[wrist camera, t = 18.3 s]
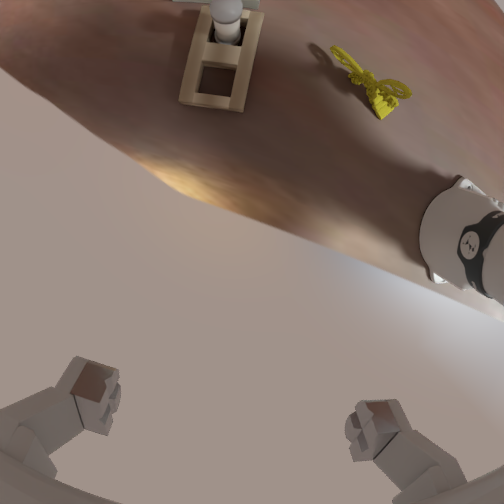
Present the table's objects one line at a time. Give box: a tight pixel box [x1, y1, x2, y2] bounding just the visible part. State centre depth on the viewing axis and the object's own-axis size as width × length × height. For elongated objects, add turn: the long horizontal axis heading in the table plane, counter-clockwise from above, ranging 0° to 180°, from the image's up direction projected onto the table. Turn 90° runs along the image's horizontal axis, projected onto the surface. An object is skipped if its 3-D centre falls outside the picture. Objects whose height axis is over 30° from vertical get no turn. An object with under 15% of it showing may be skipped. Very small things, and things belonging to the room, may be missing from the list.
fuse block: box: [178, 5, 264, 113], centre depth 32 cm, size 8×14×3 cm, turn 169°
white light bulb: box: [209, 0, 243, 46], centre depth 28 cm, size 3×3×10 cm
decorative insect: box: [330, 45, 412, 120], centre depth 33 cm, size 13×3×10 cm
